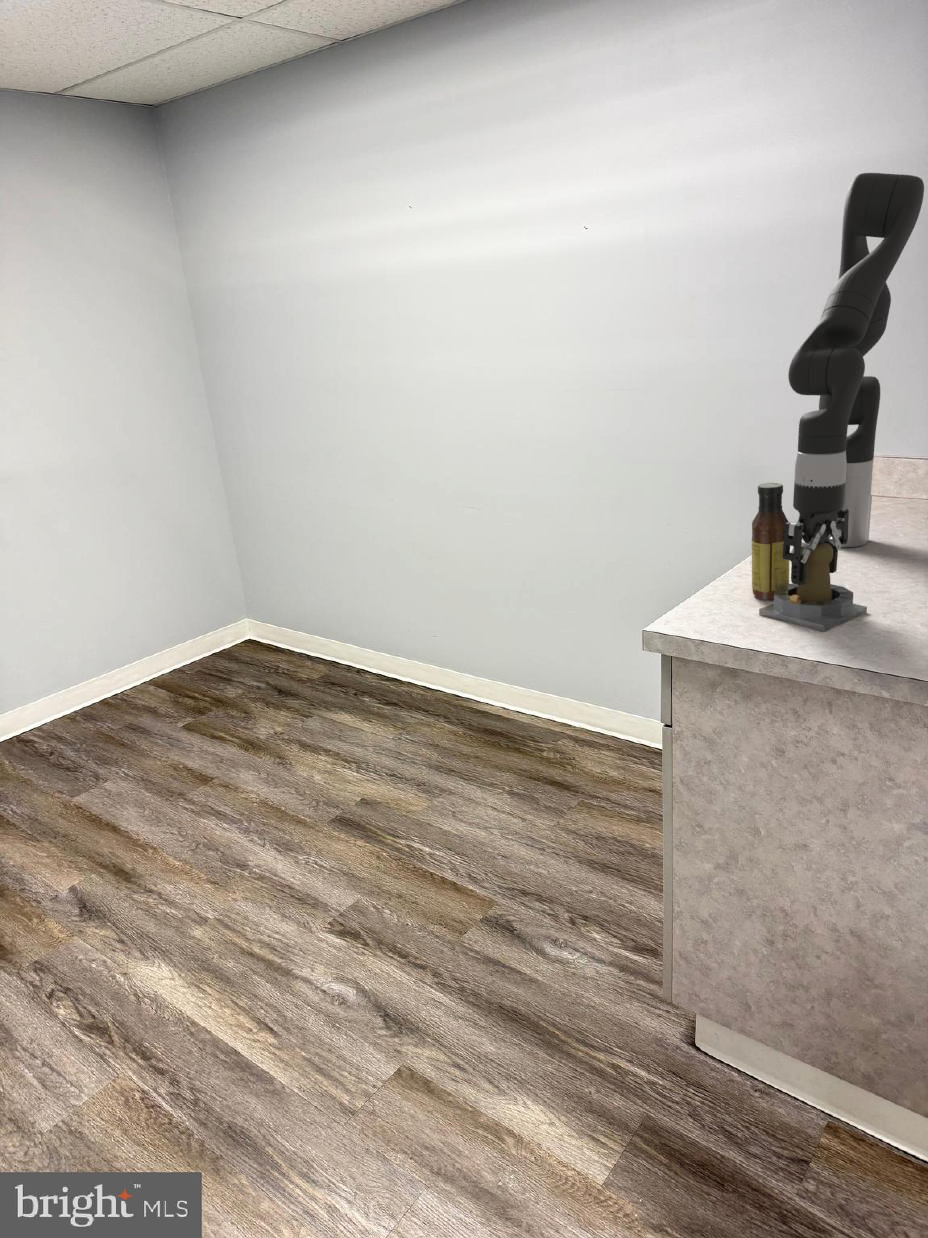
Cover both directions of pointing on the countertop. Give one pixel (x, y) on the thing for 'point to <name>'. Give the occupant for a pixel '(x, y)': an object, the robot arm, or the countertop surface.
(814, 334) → the robot arm
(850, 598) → the hub
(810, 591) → the cork
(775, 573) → the sauce bottle
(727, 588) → the countertop surface
